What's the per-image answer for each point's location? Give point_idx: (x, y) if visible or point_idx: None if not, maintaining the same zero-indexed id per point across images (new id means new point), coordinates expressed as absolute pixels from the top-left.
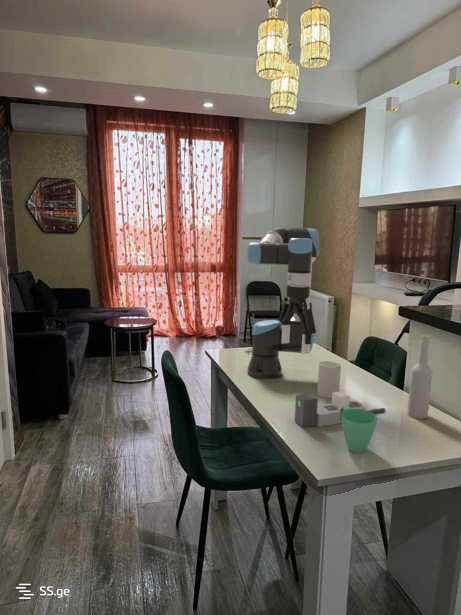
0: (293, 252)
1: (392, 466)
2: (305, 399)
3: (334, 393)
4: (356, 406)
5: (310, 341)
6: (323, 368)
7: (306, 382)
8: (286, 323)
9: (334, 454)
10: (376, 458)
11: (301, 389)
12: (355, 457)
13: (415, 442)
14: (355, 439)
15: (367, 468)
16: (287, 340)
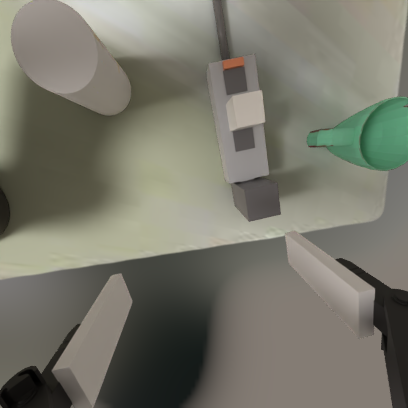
0: None
1: None
2: (276, 209)
3: (243, 125)
4: (245, 74)
5: (356, 267)
6: (87, 89)
7: (21, 114)
8: (56, 401)
9: (342, 180)
10: None
11: (76, 144)
12: None
13: (350, 14)
14: (373, 151)
15: None
16: (119, 290)
